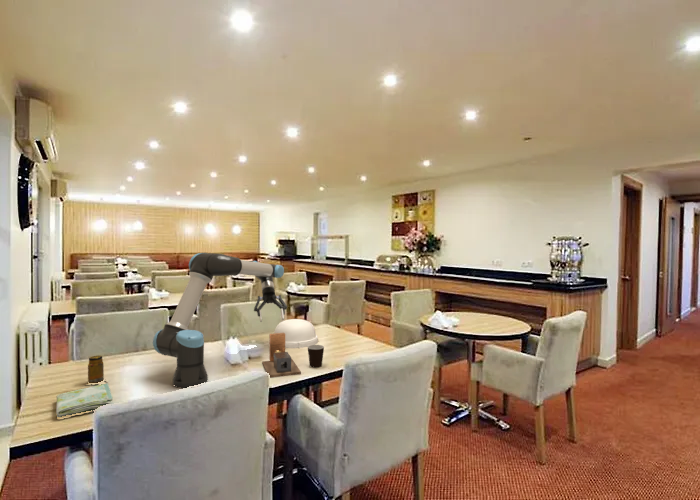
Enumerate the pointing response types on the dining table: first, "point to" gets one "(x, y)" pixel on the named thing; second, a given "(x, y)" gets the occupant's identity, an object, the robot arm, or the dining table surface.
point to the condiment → (95, 369)
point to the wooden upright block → (276, 344)
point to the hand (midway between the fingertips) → (272, 319)
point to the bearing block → (282, 358)
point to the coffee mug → (315, 355)
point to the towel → (83, 400)
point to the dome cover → (297, 333)
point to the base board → (272, 372)
